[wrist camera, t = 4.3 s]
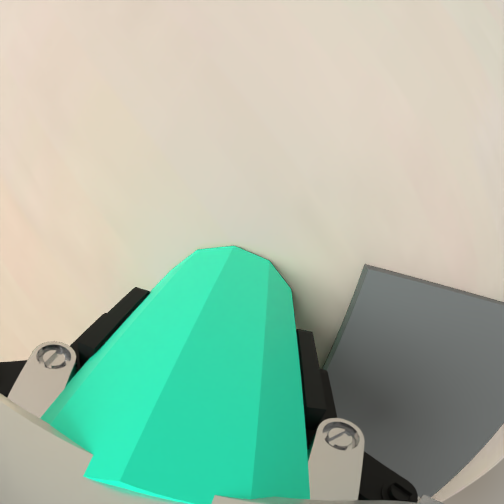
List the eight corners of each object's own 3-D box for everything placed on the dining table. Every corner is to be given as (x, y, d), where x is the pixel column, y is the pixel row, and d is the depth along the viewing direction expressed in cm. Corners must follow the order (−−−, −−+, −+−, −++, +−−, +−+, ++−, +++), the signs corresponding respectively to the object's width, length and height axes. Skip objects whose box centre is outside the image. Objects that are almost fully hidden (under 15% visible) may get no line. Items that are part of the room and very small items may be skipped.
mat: (421, 499, 19) (422, 504, 18) (249, 501, 19) (248, 506, 18) (560, 319, 12) (564, 322, 11) (364, 264, 12) (368, 269, 12)
